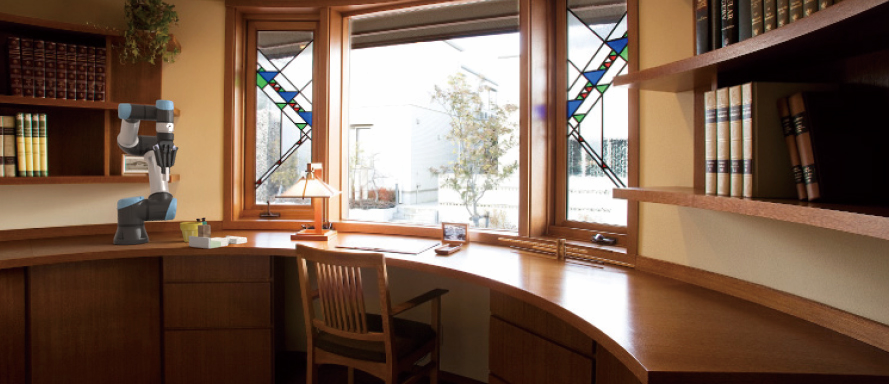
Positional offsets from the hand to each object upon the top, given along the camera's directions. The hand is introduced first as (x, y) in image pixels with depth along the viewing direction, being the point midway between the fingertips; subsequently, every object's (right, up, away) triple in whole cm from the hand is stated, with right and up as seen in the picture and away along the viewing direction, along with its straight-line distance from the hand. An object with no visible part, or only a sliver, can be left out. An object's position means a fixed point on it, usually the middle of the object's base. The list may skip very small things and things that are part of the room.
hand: (165, 180), depth 245 cm
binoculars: (-1, -31, +35) cm, 46 cm away
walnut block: (+19, -30, 0) cm, 35 cm away
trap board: (+23, -32, +8) cm, 40 cm away
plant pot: (+4, -32, +17) cm, 36 cm away
